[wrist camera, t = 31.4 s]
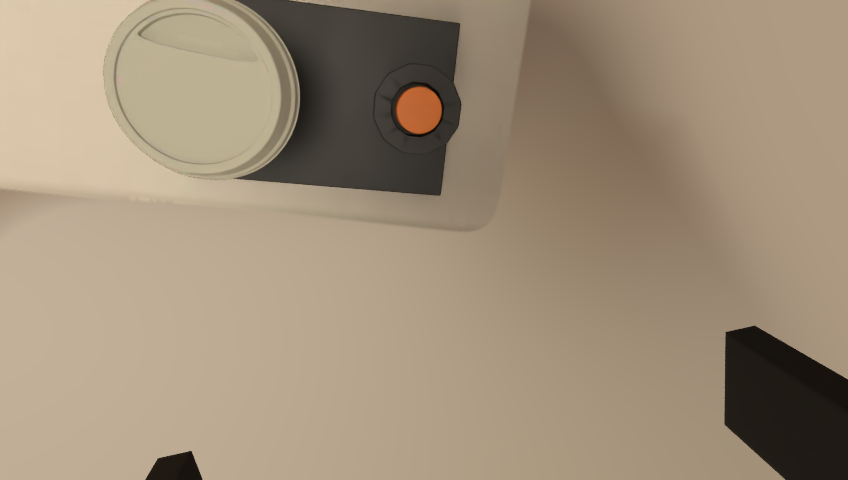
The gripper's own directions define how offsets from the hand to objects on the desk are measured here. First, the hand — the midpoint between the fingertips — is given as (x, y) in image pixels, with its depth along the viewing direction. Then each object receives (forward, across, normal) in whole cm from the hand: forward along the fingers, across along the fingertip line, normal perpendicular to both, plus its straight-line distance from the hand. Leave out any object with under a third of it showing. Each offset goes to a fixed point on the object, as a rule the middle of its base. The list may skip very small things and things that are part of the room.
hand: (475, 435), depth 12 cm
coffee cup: (+26, +8, -10) cm, 29 cm away
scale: (+27, +4, -9) cm, 28 cm away
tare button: (+24, -2, -7) cm, 25 cm away
